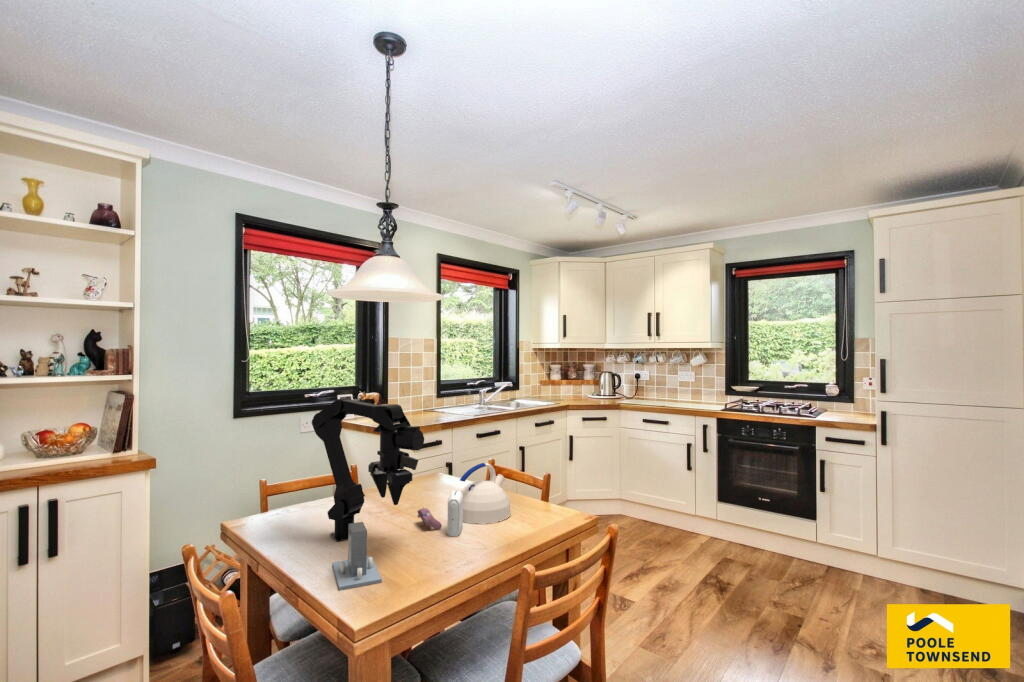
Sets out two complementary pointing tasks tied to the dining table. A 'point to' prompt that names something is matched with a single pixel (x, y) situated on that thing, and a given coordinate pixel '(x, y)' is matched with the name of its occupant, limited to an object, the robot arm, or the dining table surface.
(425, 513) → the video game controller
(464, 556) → the dining table surface
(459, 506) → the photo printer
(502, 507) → the kettle
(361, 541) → the block
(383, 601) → the dining table surface
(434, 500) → the dining table surface
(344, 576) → the grey peg board
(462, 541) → the dining table surface
